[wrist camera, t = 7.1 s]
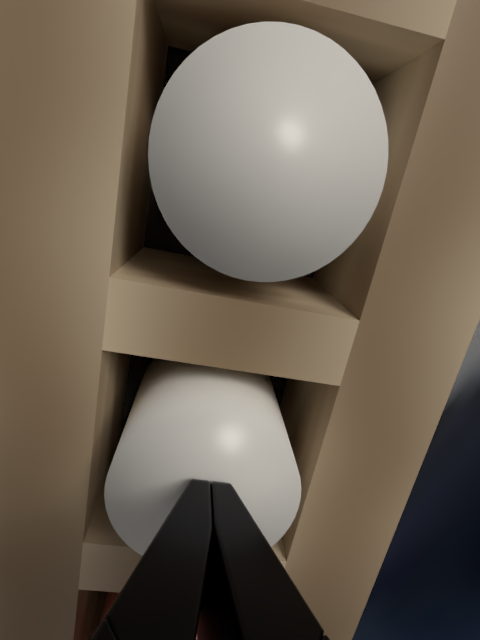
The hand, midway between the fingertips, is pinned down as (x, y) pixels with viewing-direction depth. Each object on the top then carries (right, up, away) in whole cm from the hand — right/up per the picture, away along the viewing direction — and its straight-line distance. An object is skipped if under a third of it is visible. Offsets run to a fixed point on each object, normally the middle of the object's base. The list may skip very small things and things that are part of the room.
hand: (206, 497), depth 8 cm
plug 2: (0, +1, +4) cm, 4 cm away
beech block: (0, +2, +5) cm, 5 cm away
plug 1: (+1, +8, +2) cm, 8 cm away
